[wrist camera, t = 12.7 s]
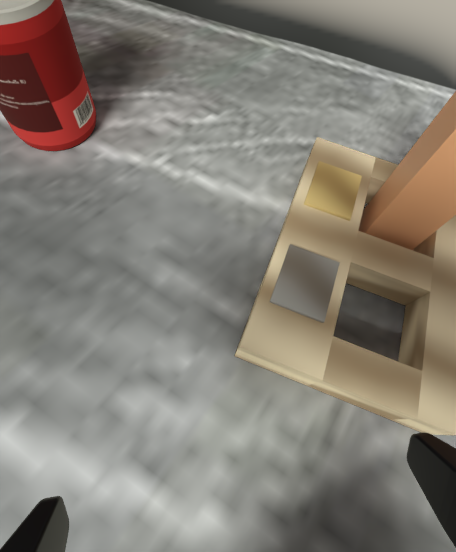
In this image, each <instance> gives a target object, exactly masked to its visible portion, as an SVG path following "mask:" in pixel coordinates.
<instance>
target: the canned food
mask: <svg viewBox="0 0 456 552" xmlns="http://www.w3.org/2000/svg"><path fill="white" fill-rule="evenodd" d="M0 110H1V112H2V114H3V115H4V117H5V118H6V120H7V121H8V123H9V125H10V126H11V128H12V129H13V131H14V132H15V134H16V135H17V136H19V137H20V138H21V139H22V140H23V141H24V142H25V143H26V144H28V145H30V146H32V147H34V148H37V149H40V150H46V151H59V150H65V149H68V148H72V147H74V146H76V145H79V144H80V143H82V142H83V141H85V140H86V139H87V138H88V137H89V136H90V135H91V133H92V132H93V130H94V127H95V123H96V110H95V106H94V103H93V100H92V96H91V93H90V90H89V87H88V84H87V81H86V77H85V74H84V71H83V68H82V65H81V62H80V58H79V55H78V52H77V49H76V46H75V43H74V39H73V36H72V33H71V30H70V27H69V23H68V20H67V17H66V14H65V11H64V8H63V5H62V2H61V0H0Z"/></svg>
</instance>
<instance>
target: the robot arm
mask: <svg viewBox="0 0 456 552" xmlns="http://www.w3.org/2000/svg"><path fill="white" fill-rule="evenodd" d="M407 461H408V464H409V467H410V469H411V470H412V472H413V474H414V476H415V478H416V480H417V481H418V483H419V485H420V487H421V489H422V491H423V492H424V494H425V496H426V498H427V500H428V502H429V503H430V505H431V507H432V509H433V511H434V512H435V514H436V516H437V518H438V520H439V521H440V523H441V525H442V527H443V528H444V530H445V532H446V533H447V535H448V536H449V538H450V539H451V541H452V543H453V544H454V546H455V547H456V448H454V447H452V446H451V445H449V444H447V443H445V442H444V441H442V440H440V439H438V438H437V437H435V436H433V435H431V434H429V433H426V432H423V433H417V434H413V435H412V436H411V438H410V443H409V447H408V452H407ZM68 531H69V518H68V515H67V511H66V508H65V505H64V502H63V499H62V498H61V497H60V496H56V497H50V498H45V499H43V500H41V501H40V502H39V503H38V504H37V505H36V506H35V508H34V509H33V510H32V511H31V512H30V514H29V515H28V516H27V517H26V519H25V520H24V521H23V522H22V523H21V525H20V526H19V527H18V528H17V530H16V531H15V532H14V533H13V534H12V536H11V537H10V538H9V539H8V541H7V542H6V543H5V544H4V545H3V547H2V548H1V549H0V552H65V548H66V543H67V537H68Z"/></svg>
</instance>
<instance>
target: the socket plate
mask: <svg viewBox="0 0 456 552" xmlns="http://www.w3.org/2000/svg"><path fill="white" fill-rule="evenodd" d="M397 166H398V165H397V164H394V163H391V162H388V161H385V160H382V159H379V158H376V157H374V156H371V155H368V154H365V153H362V152H359V151H356V150H353V149H350V148H347V147H344V146H342V145H339V144H336V143H333V142H330V141H327V140H324V139H321V138H318V137H317V139H316V141H315V143H314V146H313V148H312V151H311V153H310V155H309V158H308V160H307V163H306V165H305V168H304V171H303V173H302V176H301V179H300V181H299V184H298V187H297V189H296V192H295V195H294V197H293V200H292V203H291V205H290V208H289V211H288V214H287V216H286V219H285V222H284V224H283V227H282V230H281V232H280V235H279V238H278V240H277V243H276V246H275V248H274V251H273V254H272V256H271V259H270V262H269V264H268V267H267V270H266V273H265V275H264V278H263V281H262V283H261V286H260V289H259V291H258V294H257V297H256V299H255V302H254V305H253V307H252V310H251V313H250V315H249V318H248V321H247V323H246V326H245V329H244V332H243V334H242V337H241V340H240V342H239V345H238V348H237V350H236V353H235V356H236V357H238V358H241V359H243V360H245V361H248V362H250V363H253V364H255V365H258V366H260V367H263V368H265V369H267V370H270V371H272V372H275V373H277V374H280V375H282V376H285V377H287V378H289V379H292V380H294V381H297V382H299V383H302V384H304V385H307V386H309V387H312V388H314V389H316V390H319V391H321V392H324V393H326V394H329V395H331V396H334V397H336V398H338V399H341V400H343V401H346V402H348V403H351V404H353V405H356V406H358V407H360V408H363V409H365V410H368V411H370V412H373V413H375V414H378V415H380V416H382V417H385V418H387V419H390V420H392V421H395V422H397V423H400V424H402V425H404V426H407V427H409V428H412V429H414V430H417V431H419V432H422V433H423V432H426V433H429V434H434V435H456V215H455V216H454V217H452V218H451V219H450V220H449V221H448V222H446V223H445V224H444V225H443V226H441V227H440V228H439V229H438V230H436V231H435V232H434V233H433V234H431V235H430V236H429V237H428V238H427V239H425V240H424V241H423V242H422V243H420V244H419V245H418V246H417V247H415V248H414V249H413V250H410V249H407V248H405V247H402V246H399V245H396V244H394V243H391V242H388V241H385V240H383V239H380V238H377V237H374V236H372V235H369V234H366V233H363V232H361V231H358V230H359V225H360V221H361V217H362V213H363V209H364V204H365V203H367V204H369V202H370V201H371V200H372V198H373V197H374V196H375V195H376V193H377V192H378V191H379V189H380V188H381V187H382V186H383V184H384V183H385V182H386V180H387V179H388V178H389V176H390V175H391V174H392V173H393V171H394V170H395V169H396V167H397ZM346 283H347V284H350V285H352V286H355V287H358V288H360V289H363V290H366V291H368V292H371V293H374V294H376V295H379V296H382V297H384V298H387V299H389V300H392V301H395V302H397V303H400V304H403V305H405V306H406V307H405V314H404V322H403V329H402V336H401V343H400V351H399V358H398V361H395V360H393V359H390V358H388V357H385V356H382V355H380V354H377V353H375V352H372V351H370V350H367V349H365V348H362V347H360V346H357V345H355V344H352V343H349V342H347V341H344V340H342V339H339V338H337V337H334V336H333V335H334V330H335V326H336V322H337V318H338V314H339V309H340V305H341V301H342V297H343V293H344V288H345V284H346Z"/></svg>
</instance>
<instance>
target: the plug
mask: <svg viewBox="0 0 456 552" xmlns="http://www.w3.org/2000/svg"><path fill="white" fill-rule="evenodd" d="M455 215H456V92H455V93H454V94H453V95H452V97H451V98H450V99H449V101H448V102H447V103H446V104H445V106H444V107H443V108H442V110H441V111H440V112H439V113H438V115H437V116H436V117H435V119H434V120H433V121H432V122H431V124H430V125H429V126H428V128H427V129H426V130H425V131H424V133H423V134H422V135H421V137H420V138H419V139H418V140H417V142H416V143H415V144H414V146H413V147H412V148H411V149H410V151H409V152H408V153H407V155H406V156H405V157H404V158H403V160H402V161H401V162H400V164H399V165H398V166H397V167H396V169H395V170H394V171H393V173H392V174H391V175H390V176H389V178H388V179H387V180H386V182H385V183H384V184H383V186H382V187H381V188H380V189H379V191H378V192H377V193H376V195H375V196H374V197H373V198H372V200H371V201H370V202H369V204H368V205H367V206H366V207H365V209H364V210H363V213H362V217H361V221H360V226H359V230H358V231H361V232H363V233H366V234H369V235H372V236H374V237H377V238H380V239H383V240H385V241H388V242H391V243H394V244H396V245H399V246H402V247H405V248H407V249H410V250H413V249H414V248H415V247H417V246H418V245H419V244H420V243H422V242H423V241H424V240H425V239H427V238H428V237H429V236H430V235H431V234H433V233H434V232H435V231H436V230H438V229H439V228H440V227H441V226H443V225H444V224H445V223H446V222H448V221H449V220H450V219H451V218H452V217H454V216H455Z"/></svg>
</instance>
